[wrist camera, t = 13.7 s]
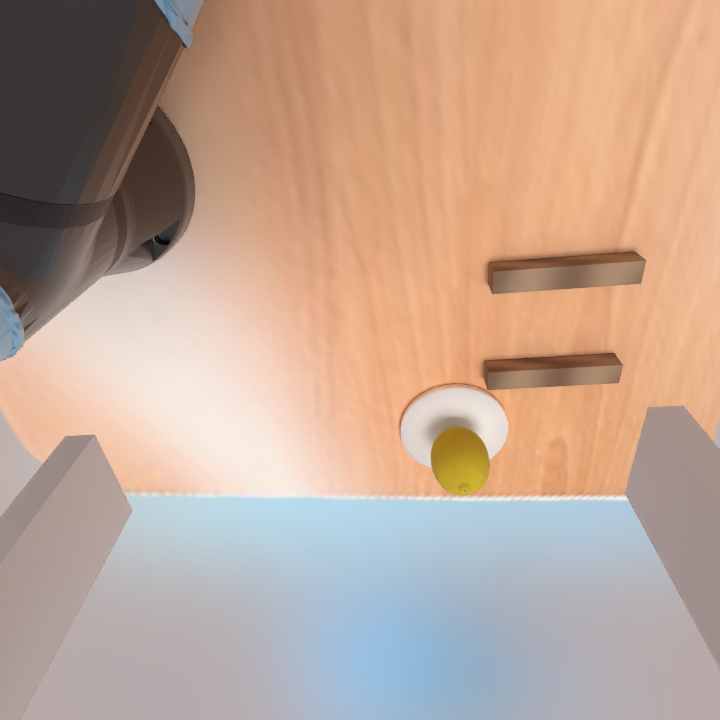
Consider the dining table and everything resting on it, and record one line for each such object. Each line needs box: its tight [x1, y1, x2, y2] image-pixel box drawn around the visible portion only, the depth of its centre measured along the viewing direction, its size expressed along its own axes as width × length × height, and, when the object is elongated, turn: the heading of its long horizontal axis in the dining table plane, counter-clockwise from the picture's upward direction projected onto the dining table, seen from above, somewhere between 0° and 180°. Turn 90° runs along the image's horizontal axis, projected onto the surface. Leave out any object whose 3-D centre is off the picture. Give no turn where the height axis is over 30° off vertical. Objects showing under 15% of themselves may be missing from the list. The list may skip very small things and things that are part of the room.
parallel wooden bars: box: [484, 252, 646, 390], centre depth 44 cm, size 12×12×2 cm
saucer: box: [401, 384, 508, 468], centre depth 52 cm, size 11×11×1 cm
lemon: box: [431, 427, 490, 495], centre depth 48 cm, size 6×6×8 cm
